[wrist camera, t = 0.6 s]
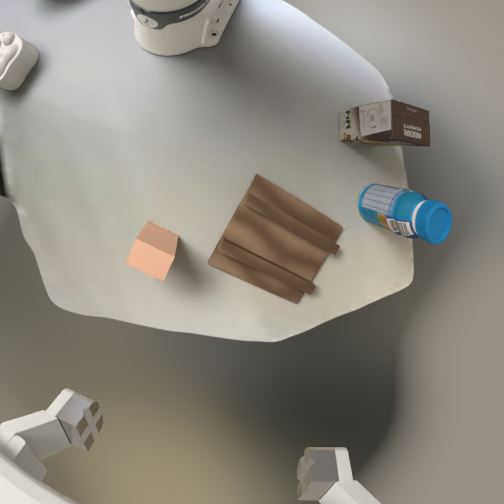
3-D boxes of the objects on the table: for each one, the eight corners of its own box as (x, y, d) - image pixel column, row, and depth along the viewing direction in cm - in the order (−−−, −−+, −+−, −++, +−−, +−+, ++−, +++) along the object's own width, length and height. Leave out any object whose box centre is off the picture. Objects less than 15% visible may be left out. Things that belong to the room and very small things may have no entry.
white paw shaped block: (14, 96, 34) (-9, 89, 26) (-13, 74, 29) (-34, 67, 21) (44, 52, 32) (25, 39, 24) (15, 34, 28) (-4, 22, 20)
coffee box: (338, 142, 50) (390, 139, 35) (338, 110, 48) (389, 97, 33) (376, 147, 52) (431, 148, 37) (376, 117, 50) (430, 110, 35)
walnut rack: (256, 174, 49) (261, 175, 46) (340, 226, 56) (349, 230, 52) (207, 261, 52) (209, 268, 49) (295, 301, 59) (300, 309, 55)
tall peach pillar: (148, 220, 48) (136, 238, 37) (178, 235, 50) (174, 257, 39) (139, 240, 48) (125, 263, 37) (168, 254, 50) (163, 281, 39)
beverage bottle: (357, 180, 53) (427, 194, 35) (389, 184, 55) (458, 200, 37) (353, 221, 56) (418, 250, 37) (384, 223, 58) (450, 250, 39)
